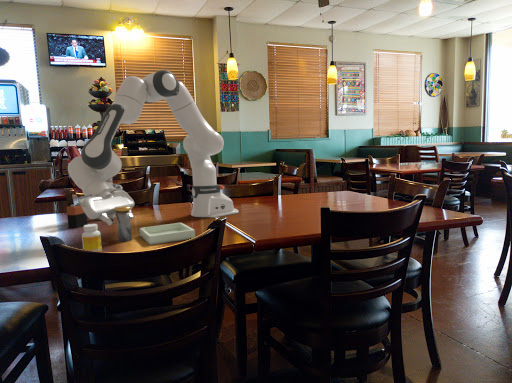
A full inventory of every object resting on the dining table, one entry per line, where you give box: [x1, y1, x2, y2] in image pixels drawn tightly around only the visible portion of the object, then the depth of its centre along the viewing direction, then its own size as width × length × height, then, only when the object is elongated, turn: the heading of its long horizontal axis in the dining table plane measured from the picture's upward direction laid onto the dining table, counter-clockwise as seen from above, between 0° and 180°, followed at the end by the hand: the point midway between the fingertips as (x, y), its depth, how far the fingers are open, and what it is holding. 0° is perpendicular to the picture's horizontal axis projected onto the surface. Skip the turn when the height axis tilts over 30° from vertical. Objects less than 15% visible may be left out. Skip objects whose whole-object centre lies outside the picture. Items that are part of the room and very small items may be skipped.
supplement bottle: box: [81, 223, 103, 252], centre depth 118 cm, size 5×5×10 cm
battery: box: [66, 202, 88, 229], centre depth 163 cm, size 4×7×10 cm, turn 160°
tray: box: [139, 222, 196, 246], centre depth 139 cm, size 16×16×3 cm
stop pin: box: [114, 206, 133, 243], centre depth 135 cm, size 6×6×12 cm
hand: (122, 221), depth 136 cm, fingers open, 8 cm apart
